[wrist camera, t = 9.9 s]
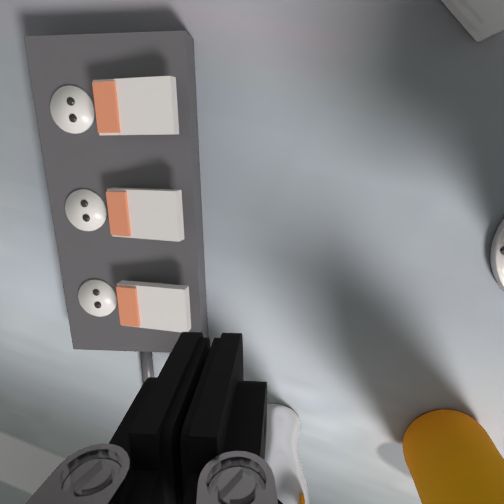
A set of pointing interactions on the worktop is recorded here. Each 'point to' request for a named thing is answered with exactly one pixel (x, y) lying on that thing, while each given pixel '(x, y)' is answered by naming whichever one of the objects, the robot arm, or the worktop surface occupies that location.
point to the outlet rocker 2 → (154, 305)
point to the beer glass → (285, 454)
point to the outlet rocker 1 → (146, 213)
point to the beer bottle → (453, 460)
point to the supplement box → (478, 16)
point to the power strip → (117, 181)
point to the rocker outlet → (136, 106)
